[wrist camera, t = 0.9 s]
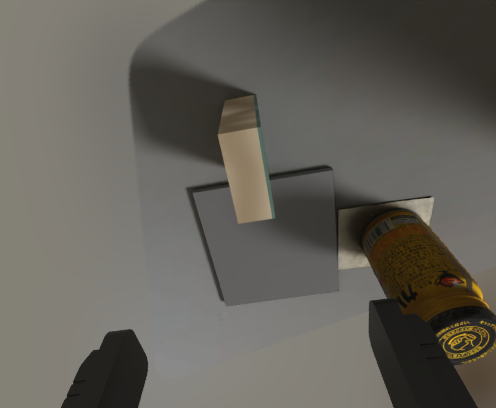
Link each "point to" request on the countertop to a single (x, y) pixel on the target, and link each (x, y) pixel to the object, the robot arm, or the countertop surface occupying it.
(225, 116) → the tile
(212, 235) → the mat
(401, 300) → the condiment
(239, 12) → the countertop surface
